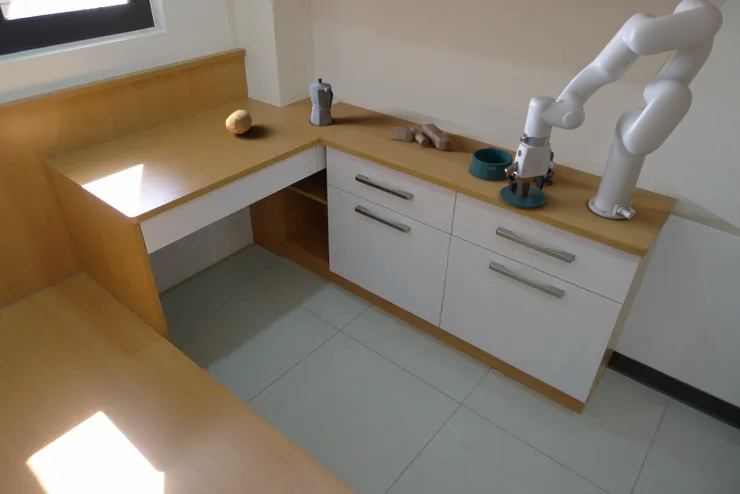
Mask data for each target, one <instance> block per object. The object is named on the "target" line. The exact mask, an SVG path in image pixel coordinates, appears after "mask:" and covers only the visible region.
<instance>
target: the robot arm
mask: <svg viewBox="0 0 740 494" xmlns="http://www.w3.org/2000/svg"><path fill="white" fill-rule="evenodd" d="M723 21H724V17H723V12H722V11H721V9H720V8H719V7H717V6H716V5H715V4H713V3H711V2H710V1H708V0H681V1H680V2H679V3H678V4H677V5H676V7H675V9H673V13H671V14H670V13H669V14H666V15H662V16H656V15H654V14H652V13H650V12H645V11H644V12H643V11H641V12H637V13H635V14H633V15H632V16H631V17H630V18H628V19H627V21H626V22H624V24H623V25H622V26H621V28H620V29H619V30H618V31H617V32H616V33H615V35H614V36H613V37H612V38H611V39H610V40H609V42H608V43H607V44H606V45H605V47H604V48H603V49H601V52H600V53H599V54H598V55H597V56H596V57H595V58H594V60H592V62H589V64H587V65H586V67H584V68H583V69H582V70H581V71H580V72H578V73H577V74H576V76H575V77H573V78H572V80H571V81H570V82H569V83H568V84H567V86H566V87H565V88H564V89H563V90H562V91H561V92H560V94H559V95H558V97H557V99H555V98H554V97H551V96H548V95H536V96H533V97H532V98H531V99H530V101H529V104H528V108H527V109H528V111H527V115H526V120H525V126H524V131H523V136H521V137H520V138H519V141H520V144H519V145H518V148H517V150H516V154H515V157H514V160H513V163H512V165H511V166H509V167H508V168H506V169H505V173H506V176H507V179H508V180H509V185H508V186H509V191H510V192H511V193H512V194H516V191H517V186H518V185H519V182H518V181H519V180H520V179H521V178H522V179H529V178H535V179H536V182H535V184H534V186H535V188H537V189H539V190H540V191H542V190H543V189H544V186H545V185H544V181H545V178H547V176H548V174H549V173H550V172H551V171H553V168H554V167H555V165H556V163H555V162H554V160H553V161H551V160H550V155H551V151H552V148H551V147H552V145H551V142H550V139H551V134H552V130H553V127H556V128H559V129H563V130H576V129H578V128H580V127H581V126H582V125H583V124H584V122H585V120H586V112H585V108H584V105H585V104H586V103H587V102H588V101H589V99H590V98H591V97H592V96H593V95H594V94H595V93H596V92H597V91H598V90H600V88H602V87H604V86H606V85H609V84H613V83H615V82H617V81H619V80H620V79H622V77H624V75H625V74H626V73H627V72H628V70H630V68H631V67H632V66H633V65H634V64H635V63H636V62H637V61H638V60H639V59H640V57H641V56H652V55H658V54H662V53H667V52H669V54H668V56H667V57H666V58H665V60H664V61H663V63H662V64H661V65H660V66H659V68H658V69H657V71H656V72H655V74H654V75H653V76H652V78H651V79H650V80H649V82H648V83H647V84H646V85H645V88H644V90H643V99H644V101H645V103H646V106H645V107H642V106H634V107H630V108H628V109H626V110H625V111H623V112H622V113H621V115H619V117H618V119H617V121H616V124H615V127H614V132H613V137H612V143H611V147H610V150H609V154H608V156H607V160H606V164H605V167H604V170H603V173H602V177H601V180H600V183H599V185H598V189H597V193H596V196H594V197H591V198H590V199H589V201H588V208H589V209H590V211H592V212H593V213H594V214H596V215H598V216H601V217H604V218H607V219H613V220H623V219H628V220H631V219H633V218H634V215H637V212H638V211H636V210H635V209H634V208H632V207H633V203H634V202H633V201H632V197H633V195H634V191H635V189H636V186H637V183H638V180H639V177H640V174H641V172H642V169H643V166H644V164H645V160H646V157H647V155H650V154H652V153H654V152H655V151H657V150H658V149H659V148H660V147H662V146H663V144H664V143H665V142H666V140H667V139H668V138H669V137H670V136H671V134H672V133H673V132H674V131H675V129H676V128H677V127H678V126H679V124H680V123H681V122H682V120H684V118H685V117H686V116H687V114H688V113H689V111H690V109H691V106H692V103H693V94H692V91H691V88H690V87H689V86H690V85H691V83H692V82H693V80H694V79H695V78H696V76H697V75H698V74H699V72H700V71H701V69H702V68H703V67H704V65H706V64H705V63H706V62H707V60H708V58H709V57H710V55H711V53H712V49H713V46H714V40H715V36H717V34H718V32H720V30H721V28H722V25H723Z"/></svg>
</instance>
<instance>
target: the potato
mask: <svg viewBox="0 0 740 494" xmlns="http://www.w3.org/2000/svg"><path fill="white" fill-rule="evenodd" d="M252 124H253V119H252V116H251V114H250V112H248V111H247V110H245V109H237V110H236V111H234V112H232V113H231V114H230V115H229V116H228V117H227V118H226V120H225V127H226V129H227V130H228V131H229V132H230V133H233V134H235V135H241V134H244V133H247V131H248V130H250V129H251V128H252Z"/></svg>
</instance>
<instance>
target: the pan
mask: <svg viewBox="0 0 740 494" xmlns="http://www.w3.org/2000/svg"><path fill="white" fill-rule="evenodd" d="M513 159H514V157H513V155H512V154H510V152H507V151H506V150H504V149H501V148H500V149H499V148H496V146H495V147H494V146H488V147H484V148H483V147H482V148H479V149H476V150H474V151H473V152H472V155H471V163H470V173H471V174H472V176H474V177H476V178H478V179H481V180H485V181H491V182H497V181H503V180H506V179H508V177H507V176H506V173H505V169H506V168H508V167H509V166H511V165H512V164H513V161H514V160H513Z"/></svg>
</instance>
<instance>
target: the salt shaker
mask: <svg viewBox="0 0 740 494" xmlns="http://www.w3.org/2000/svg"><path fill="white" fill-rule="evenodd" d="M554 156H555V152H553V150H551V155H550V160H551V161H553V162H554ZM554 175H555V171H554V170H552V171H551V172H550V173H549V174H548V176H547V178H545V181H544V185H543V186H550V185H552V181H551V179H552V178H553V176H554ZM534 182H535V183H536V178H535V179H534Z"/></svg>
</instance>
